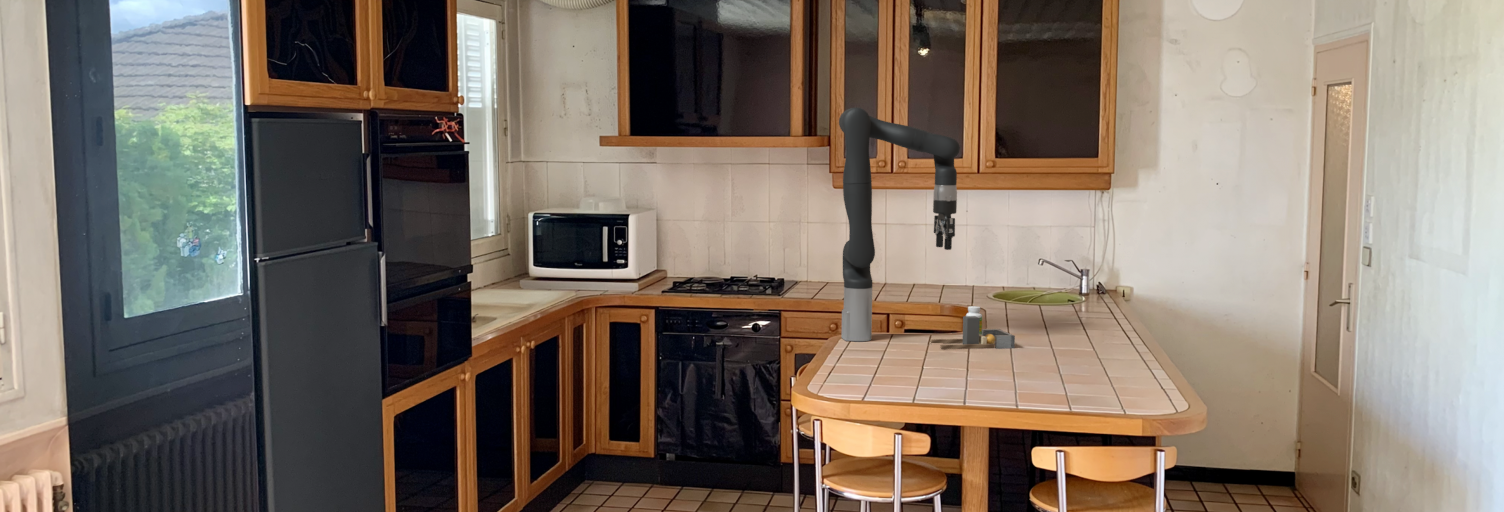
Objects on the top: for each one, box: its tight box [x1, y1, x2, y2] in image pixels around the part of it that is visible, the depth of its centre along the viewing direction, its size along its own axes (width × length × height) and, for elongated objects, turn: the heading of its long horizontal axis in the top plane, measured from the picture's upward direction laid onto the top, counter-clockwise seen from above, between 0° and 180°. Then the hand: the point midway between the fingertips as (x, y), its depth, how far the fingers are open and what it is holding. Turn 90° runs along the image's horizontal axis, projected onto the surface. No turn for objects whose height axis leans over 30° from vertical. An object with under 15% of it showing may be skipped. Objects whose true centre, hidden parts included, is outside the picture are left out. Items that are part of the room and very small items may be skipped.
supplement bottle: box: [965, 305, 983, 335], centre depth 388 cm, size 5×5×10 cm
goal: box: [982, 328, 1016, 350], centre depth 371 cm, size 6×13×4 cm, turn 9°
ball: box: [985, 334, 995, 344], centre depth 371 cm, size 4×4×4 cm
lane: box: [929, 338, 995, 350], centre depth 369 cm, size 17×11×1 cm, turn 99°
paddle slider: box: [962, 315, 987, 344], centre depth 370 cm, size 6×7×9 cm
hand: (943, 248), depth 379 cm, fingers open, 8 cm apart
